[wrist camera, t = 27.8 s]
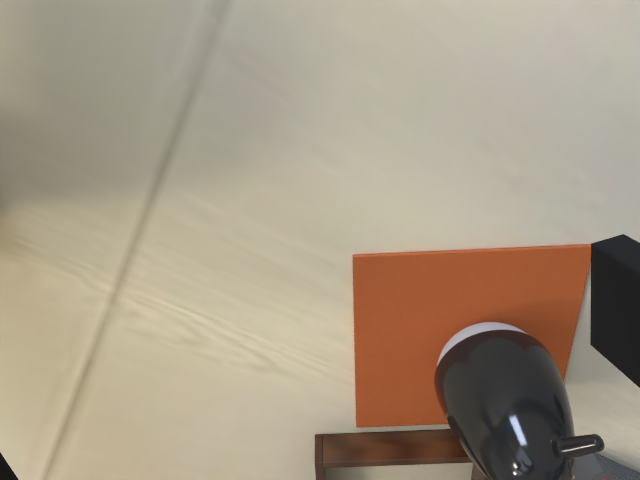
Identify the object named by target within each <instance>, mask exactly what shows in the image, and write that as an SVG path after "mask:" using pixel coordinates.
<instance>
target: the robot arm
mask: <svg viewBox="0 0 640 480" xmlns="http://www.w3.org/2000/svg"><path fill="white" fill-rule="evenodd" d="M591 345H592V346H593V347H594V348H595V349H596V350H597V351H598V352H600V353H601V354H602V355H603V356H604V357H605V358H606V359H608V360H609V361H610V362H611V363H612V364H613V365H614V366H616V367H617V368H618V369H619V370H620V371H621V372H622V373H624V374H625V375H626V376H627V377H628V378H629V379H630V380H632V381H633V382H634V383H635V384H636V385H637V386H638V387H640V243H639V242H637V241H635V240H633V239H631V238H629V237H628V236H626V235H624V234H622V235H619V236H616V237H612V238H609V239H606V240H602V241H599V242H596V243H592V244H591ZM0 480H18V478H17V477H16V475H15V474H14V472H13V471H12V469H11V468H10V466H9V465H8V463H7V462H6V460H5V459H4V457H3V456H2V454H1V453H0Z"/></svg>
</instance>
